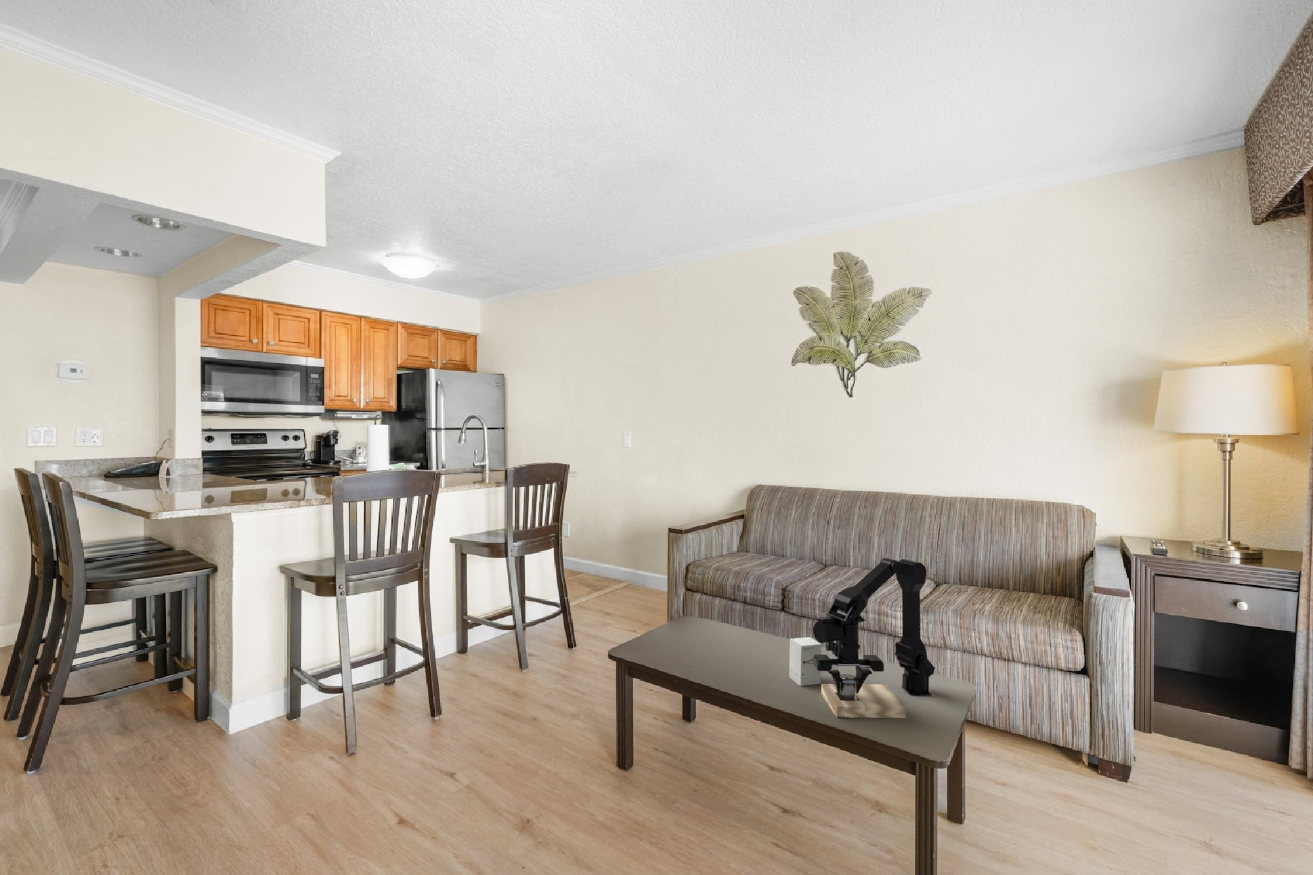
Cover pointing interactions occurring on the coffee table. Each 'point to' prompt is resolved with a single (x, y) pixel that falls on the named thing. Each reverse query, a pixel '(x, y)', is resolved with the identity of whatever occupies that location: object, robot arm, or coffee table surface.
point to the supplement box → (804, 661)
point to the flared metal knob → (847, 687)
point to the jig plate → (865, 702)
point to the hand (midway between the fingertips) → (847, 692)
